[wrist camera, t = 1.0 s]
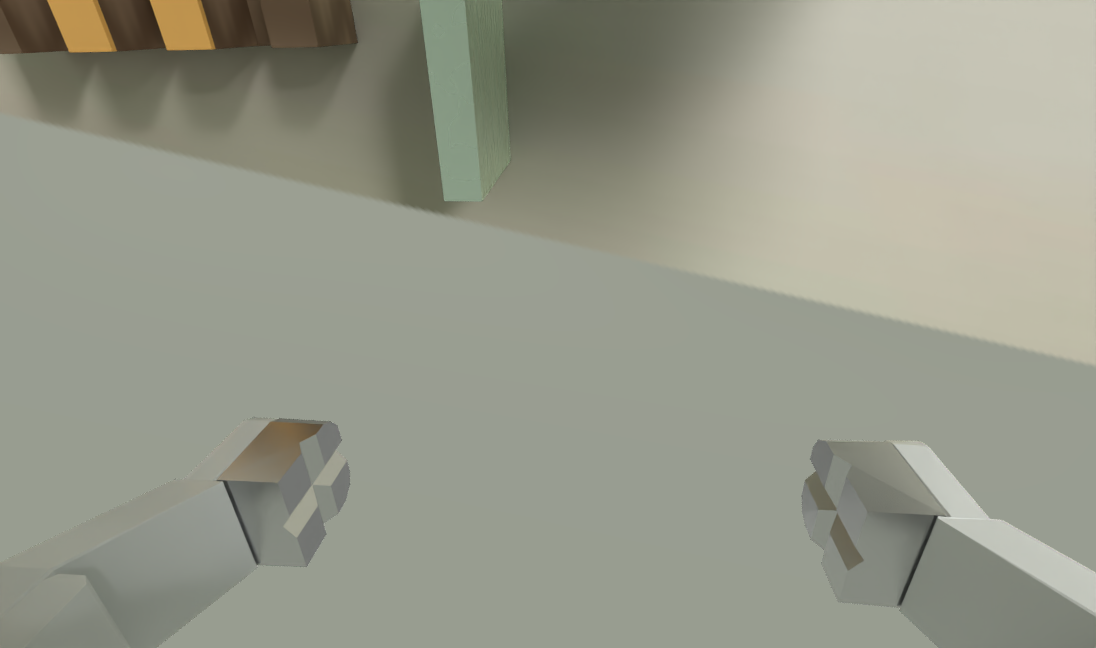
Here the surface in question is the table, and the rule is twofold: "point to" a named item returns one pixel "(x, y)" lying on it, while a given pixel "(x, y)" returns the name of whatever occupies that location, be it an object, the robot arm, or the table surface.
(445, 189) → the panel
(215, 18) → the rack
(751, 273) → the table surface
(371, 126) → the table surface
